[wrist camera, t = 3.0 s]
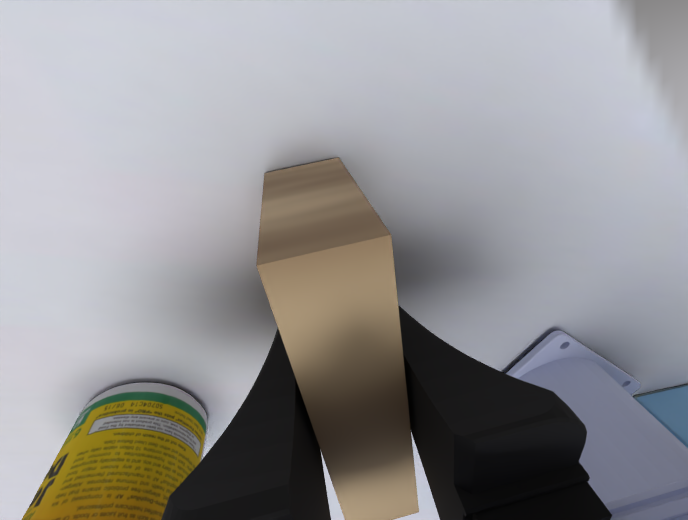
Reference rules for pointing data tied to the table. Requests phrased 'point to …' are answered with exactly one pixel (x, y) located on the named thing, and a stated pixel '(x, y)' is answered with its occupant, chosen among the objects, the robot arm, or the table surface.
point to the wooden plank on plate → (341, 331)
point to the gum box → (669, 409)
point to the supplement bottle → (124, 456)
